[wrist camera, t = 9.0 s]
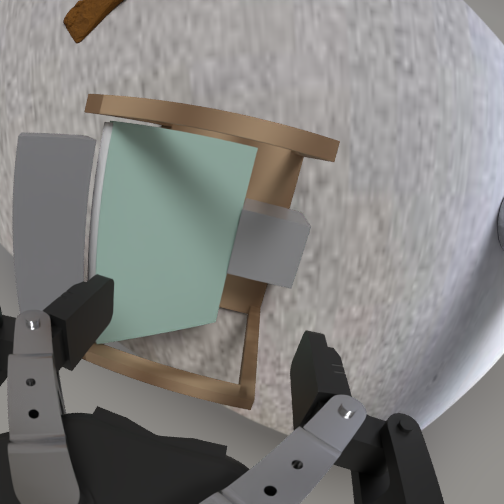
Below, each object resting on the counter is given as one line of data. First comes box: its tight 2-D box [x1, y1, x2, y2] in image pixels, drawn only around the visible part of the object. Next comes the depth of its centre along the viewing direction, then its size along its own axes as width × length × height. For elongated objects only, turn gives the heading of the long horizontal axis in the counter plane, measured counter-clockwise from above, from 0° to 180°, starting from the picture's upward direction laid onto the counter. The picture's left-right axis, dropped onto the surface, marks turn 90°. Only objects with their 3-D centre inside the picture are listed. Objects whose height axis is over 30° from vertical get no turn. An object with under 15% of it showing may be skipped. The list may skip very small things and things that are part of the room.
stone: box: [227, 198, 311, 289], centre depth 25 cm, size 5×5×5 cm
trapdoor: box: [13, 121, 258, 344], centre depth 18 cm, size 15×14×3 cm
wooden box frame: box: [82, 94, 340, 410], centre depth 21 cm, size 13×17×13 cm
